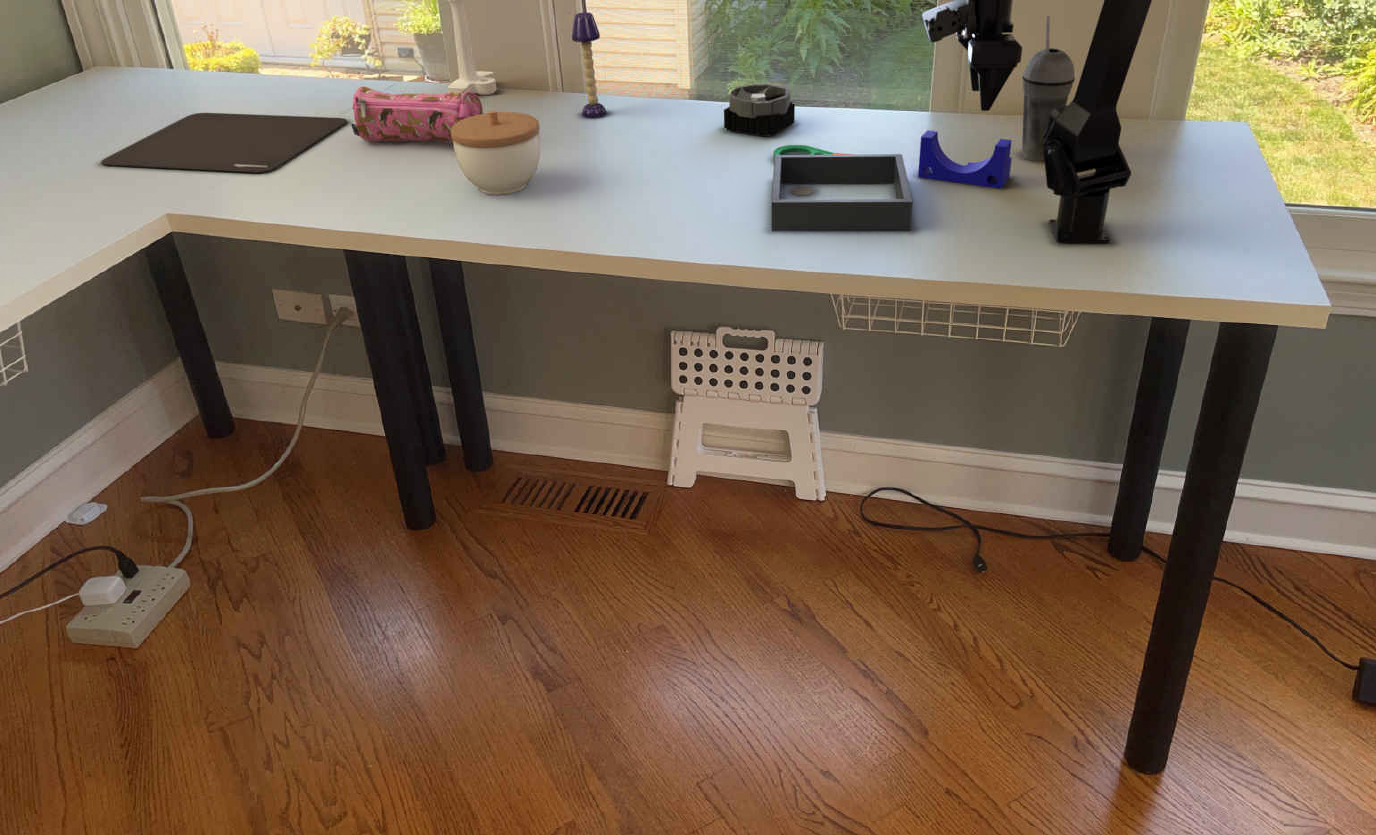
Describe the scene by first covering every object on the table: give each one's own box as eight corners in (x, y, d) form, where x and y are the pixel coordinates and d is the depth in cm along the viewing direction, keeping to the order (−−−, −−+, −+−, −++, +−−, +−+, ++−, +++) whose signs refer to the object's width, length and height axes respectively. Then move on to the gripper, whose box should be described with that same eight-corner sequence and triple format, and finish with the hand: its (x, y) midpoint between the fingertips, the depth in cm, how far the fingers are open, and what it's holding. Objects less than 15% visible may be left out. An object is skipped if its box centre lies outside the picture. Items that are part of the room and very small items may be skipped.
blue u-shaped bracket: (1009, 178, 157) (1014, 136, 154) (1001, 188, 154) (1006, 146, 151) (927, 167, 162) (930, 127, 159) (918, 177, 159) (921, 136, 156)
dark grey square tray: (910, 231, 143) (912, 201, 141) (771, 231, 145) (771, 202, 143) (900, 181, 158) (902, 154, 156) (774, 181, 160) (774, 155, 158)
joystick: (474, 82, 210) (458, -29, 199) (509, 85, 208) (495, -28, 197) (444, 99, 201) (425, -16, 190) (480, 102, 199) (463, -15, 188)
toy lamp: (575, 117, 189) (565, 16, 180) (585, 109, 193) (576, 10, 184) (601, 118, 188) (592, 17, 179) (610, 110, 192) (603, 11, 183)
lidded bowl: (464, 206, 156) (452, 130, 150) (455, 177, 167) (444, 104, 161) (552, 194, 159) (543, 119, 153) (538, 166, 169) (530, 94, 163)
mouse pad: (94, 164, 178) (94, 163, 178) (194, 113, 200) (194, 112, 199) (268, 173, 171) (267, 172, 171) (351, 119, 193) (351, 118, 192)
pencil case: (350, 148, 180) (339, 94, 175) (378, 130, 187) (368, 78, 183) (470, 155, 175) (462, 100, 170) (494, 136, 182) (487, 82, 177)
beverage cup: (1065, 165, 161) (1086, 23, 150) (1013, 163, 162) (1031, 23, 151) (1061, 148, 167) (1081, 11, 156) (1011, 147, 168) (1028, 10, 157)
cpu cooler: (747, 80, 184) (802, 87, 179) (747, 114, 187) (801, 121, 182) (716, 96, 177) (772, 104, 172) (717, 131, 180) (772, 140, 175)
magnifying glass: (767, 163, 166) (767, 152, 165) (781, 150, 171) (781, 140, 170) (865, 174, 161) (866, 163, 160) (876, 160, 165) (877, 149, 164)
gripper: (922, -33, 151) (914, 82, 159) (936, -3, 135) (927, 122, 144) (1005, -35, 150) (993, 81, 158) (1029, -6, 134) (1014, 121, 143)
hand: (980, 100), depth 151 cm, fingers open, 9 cm apart
